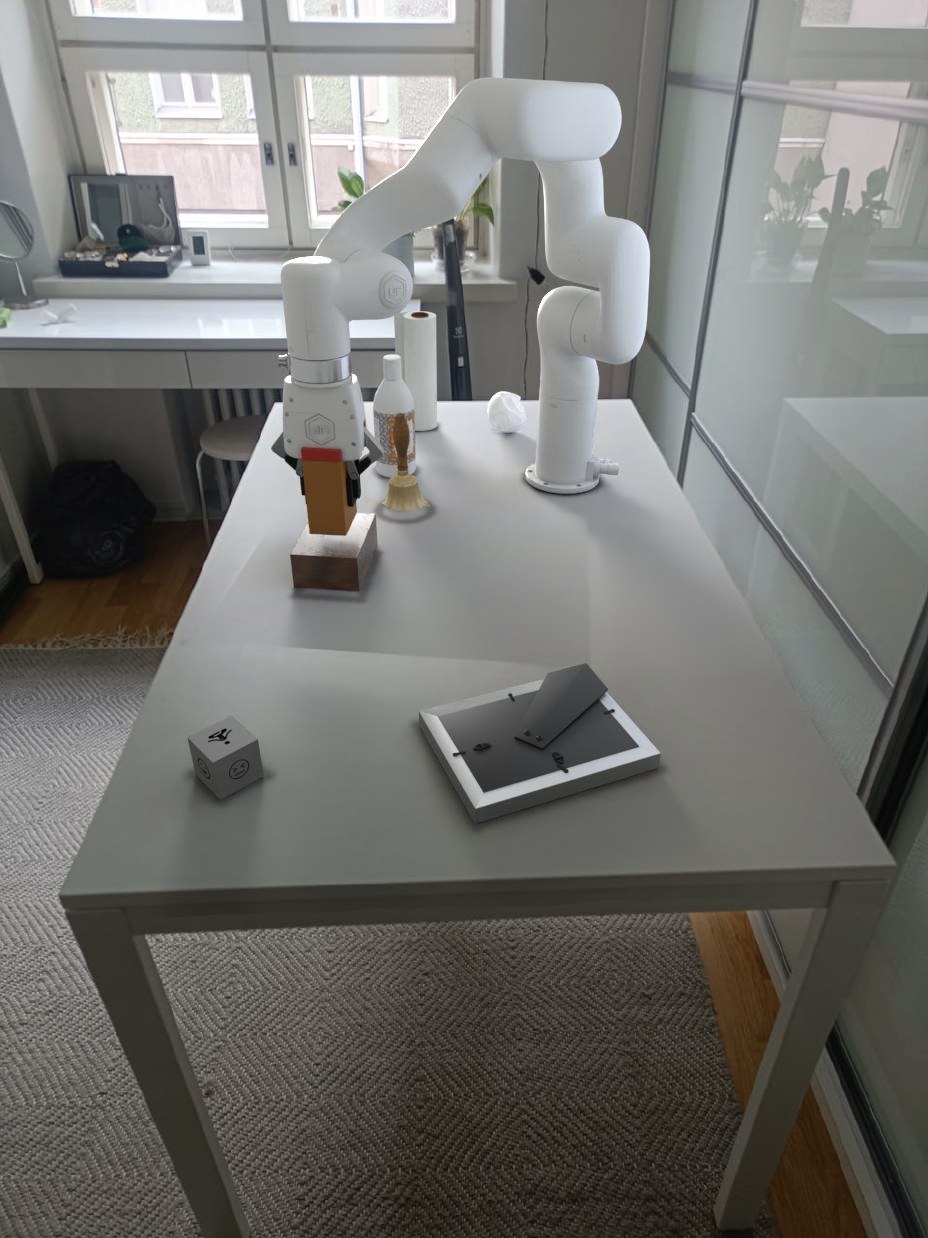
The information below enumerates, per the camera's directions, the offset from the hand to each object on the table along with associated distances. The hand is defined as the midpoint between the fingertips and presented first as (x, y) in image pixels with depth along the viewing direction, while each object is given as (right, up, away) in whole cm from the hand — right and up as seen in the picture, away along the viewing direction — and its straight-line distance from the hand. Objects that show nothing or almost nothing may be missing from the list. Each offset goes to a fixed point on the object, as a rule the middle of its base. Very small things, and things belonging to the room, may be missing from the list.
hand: (331, 500), depth 117 cm
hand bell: (+8, +1, +23) cm, 25 cm away
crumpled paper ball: (+26, +20, +52) cm, 62 cm away
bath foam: (+6, +10, +36) cm, 38 cm away
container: (-4, -2, +2) cm, 4 cm away
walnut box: (0, -10, +6) cm, 12 cm away
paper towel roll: (+9, +22, +54) cm, 59 cm away
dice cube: (-6, -32, -27) cm, 43 cm away
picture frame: (+25, -30, -23) cm, 46 cm away
